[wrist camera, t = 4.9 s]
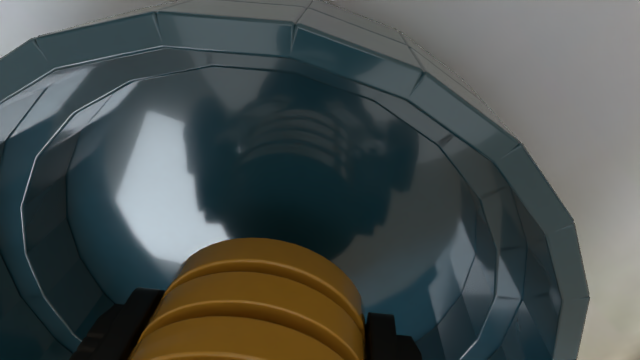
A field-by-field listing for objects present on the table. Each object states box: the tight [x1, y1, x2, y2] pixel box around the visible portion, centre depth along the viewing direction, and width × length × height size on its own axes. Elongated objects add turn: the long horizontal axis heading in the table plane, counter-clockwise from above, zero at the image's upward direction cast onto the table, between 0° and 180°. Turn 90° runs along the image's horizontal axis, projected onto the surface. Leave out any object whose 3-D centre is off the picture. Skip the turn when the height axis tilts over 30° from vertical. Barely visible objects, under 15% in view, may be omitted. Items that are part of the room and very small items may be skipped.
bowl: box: [0, 0, 590, 360], centre depth 12 cm, size 17×17×4 cm
